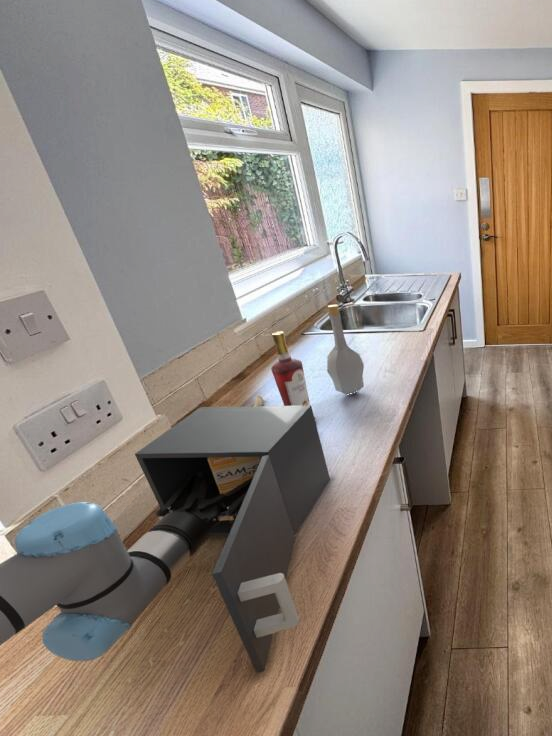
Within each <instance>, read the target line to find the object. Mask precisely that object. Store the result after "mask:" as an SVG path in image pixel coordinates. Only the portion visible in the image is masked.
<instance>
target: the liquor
mask: <svg viewBox="0 0 552 736" xmlns="http://www.w3.org/2000/svg"><path fill="white" fill-rule="evenodd" d="M271 336H272V339H273V342H274V344H275V347H276V352H277V353H276V354H277V359H278V361H276V362H274V364H273V365H272V366H271V369H270V370H271V373H272V375H273V378H274V381H275V384H276V387H277V390H278V393H279V395H280V397H281V400H282V403H283V406H306V405H311V403H310V397H309V393H308V387H307V381H306V377H305V372H304V371H305V370H304V366H303V362H302V360H300V359H297V358H292V357H291V354H290V351H289V349H288V346H287V344H286V336H285V332H284V331H275V332H273V333H272V334H271ZM314 418H315V419H316V417H315V416H314Z"/></svg>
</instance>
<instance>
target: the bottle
mask: <svg viewBox="0 0 552 736" xmlns="http://www.w3.org/2000/svg"><path fill="white" fill-rule="evenodd" d="M327 310H328V317H329V320H330V324H331V328H332V333H333V337H334V347H333V348H332V349H331V350H330V352H329V354H328V355H327V357H326V358H327V362H326V363H327V364H326V372H327V374H328V375H329V377H330V378H331V380H332V382H333V387H334V389H335V391H336V392H339V393H341V394H344V395H347V394H349V395H347V396H353V395H355V394H357V393H358V392H359V391H361V390H362V389H363V388H364V387H365V385H364V384H365V383H364V376H363V375H364V368H365V364H364V361H363V359H362V357H361V354H360V353H358V352H357V351H355V350H353V349H352V348H351V347H349V346H348V344H347V341H346V338H345V333H344V329H343V324H342V319H341V318H342V317H341V312H340V311H339V305H338V304H330V305H329V304H328V305H327ZM358 390H359V391H358ZM356 391H358V392H356ZM354 392H355V393H354ZM350 393H352V394H350Z"/></svg>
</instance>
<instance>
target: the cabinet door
mask: <svg viewBox="0 0 552 736" xmlns="http://www.w3.org/2000/svg"><path fill="white" fill-rule="evenodd" d="M296 539H297V538H296V534H295V535H294V532H293V529H292V526H291V522H290V519H289V516H288V513H287V510H286V507H285V504H284V501H283V498H282V495H281V492H280V488H279V485H278V482H277V479H276V476H275V473H274V470H273V467H272V464H271V461H270V457H269V455H266V456H262V459H261V461H260V463H259V466H258V468H257V470H256V473H255V475H254V477H253V480H252V482H251V484H250V487H249V489H248V491H247V494H246V496H245V498H244V501H243V503H242V505H241V508H240V510H239V512H238V515H237V517H236V519H235V522H234V524H233V526H232V529H231V531H230V533H229V536H227V538H226V540H225V542H224V545H223V548H222V550H221V552H220V554H219V556H218V558H217V562H216V564H215V566H214V568H213V571H212V572H211V576H212V579H213V581H214V583H215V584H216V587H217V589H218V591H219V593H220V595H221V598H222V600H223V602H224V604H225V606H226V607H225V608H226V609H227V611H228V613H229V615H230V617H231V620H232V623H233V624H234V627H235V629H236V631H237V633H238V636H239V637H240V640H241V642H242V644H243V646H244V648H245V650H246V653H247V655H248V657H249V659H250V662H251V664H252V666H253V668H254V670H255V673H256V674H259V673H263V672H264V671H265V670H266V667H267V663H268V657H269V654H270V649H271V646H272V645H271V644H272V640H273V637H274V634H275V633H279V632H282V631H286V630H289V629H293V628H295V627H296V626H298V624H299V623H300V621H301V620H300V616H299V613H298V611H297V608H296V604H295V602H294V600H293V597H292V594H291V591H290V588H289V585H288V582H287V576H288V573H289V568H290V563H291V559H292V555H293V551H294V547H295V544H296V543H295V542H296ZM279 610H280V611H281V612H280V613H279Z"/></svg>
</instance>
